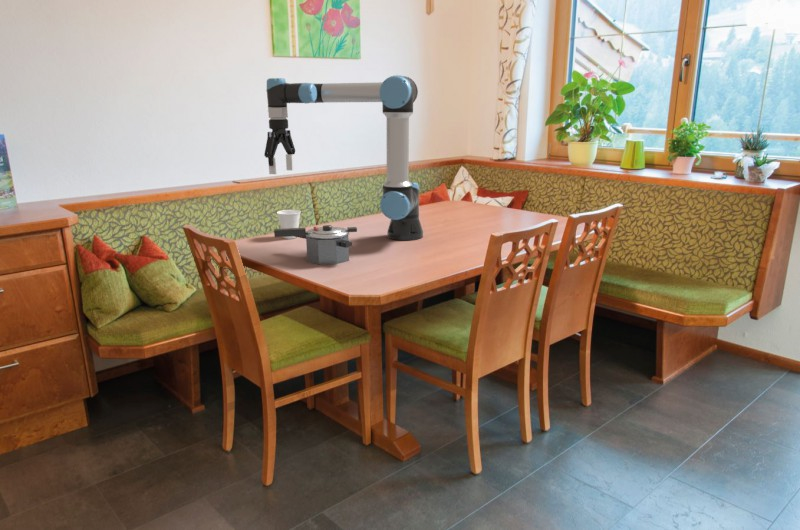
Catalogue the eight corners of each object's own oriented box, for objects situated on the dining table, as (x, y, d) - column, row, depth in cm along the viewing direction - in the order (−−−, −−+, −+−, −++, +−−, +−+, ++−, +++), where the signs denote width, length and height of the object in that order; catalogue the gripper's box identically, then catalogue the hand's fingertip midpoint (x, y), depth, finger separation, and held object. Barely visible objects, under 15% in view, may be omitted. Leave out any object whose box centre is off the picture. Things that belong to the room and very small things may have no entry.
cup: (297, 240, 251) (295, 214, 248) (274, 239, 253) (272, 213, 250) (305, 235, 260) (304, 210, 257) (283, 234, 262) (282, 209, 259)
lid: (354, 228, 229) (354, 220, 228) (358, 237, 214) (358, 229, 213) (275, 231, 224) (274, 223, 223) (274, 241, 209) (273, 232, 208)
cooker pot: (364, 259, 221) (363, 235, 218) (334, 268, 210) (333, 243, 207) (310, 247, 239) (309, 225, 237) (280, 255, 228) (279, 231, 226)
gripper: (285, 117, 254) (288, 168, 259) (252, 119, 231) (256, 175, 237) (301, 117, 251) (304, 168, 257) (269, 119, 229) (273, 176, 234)
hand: (281, 172), depth 247 cm, fingers open, 13 cm apart
